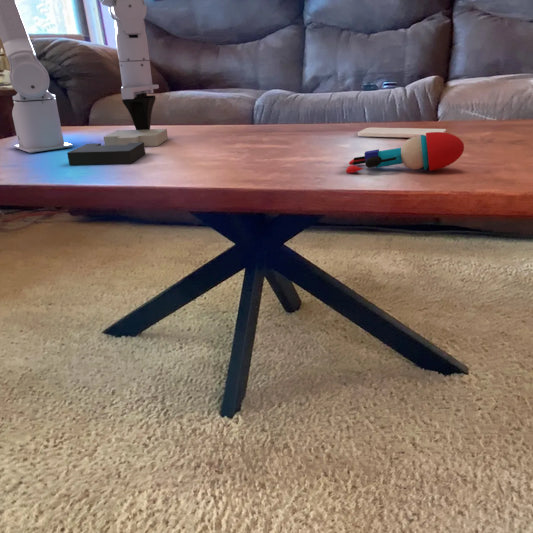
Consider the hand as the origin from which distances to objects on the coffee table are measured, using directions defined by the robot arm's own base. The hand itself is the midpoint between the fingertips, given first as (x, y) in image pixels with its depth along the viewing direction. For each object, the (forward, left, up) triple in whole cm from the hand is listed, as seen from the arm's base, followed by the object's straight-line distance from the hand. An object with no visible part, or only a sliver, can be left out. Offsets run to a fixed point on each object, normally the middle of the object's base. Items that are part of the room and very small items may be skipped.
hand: (143, 134), depth 102 cm
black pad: (+15, -15, -1) cm, 21 cm away
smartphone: (+39, +32, -1) cm, 50 cm away
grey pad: (+4, -3, -1) cm, 5 cm away
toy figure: (+56, +8, -1) cm, 56 cm away
